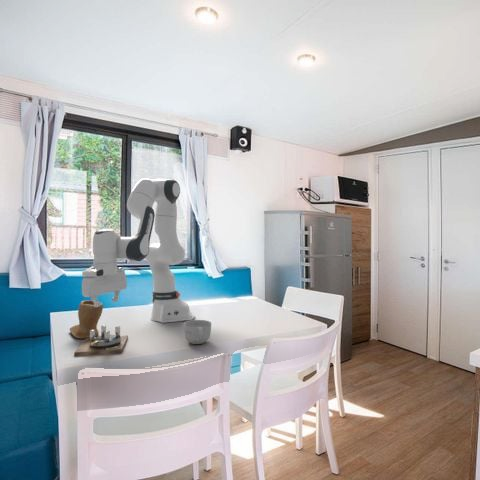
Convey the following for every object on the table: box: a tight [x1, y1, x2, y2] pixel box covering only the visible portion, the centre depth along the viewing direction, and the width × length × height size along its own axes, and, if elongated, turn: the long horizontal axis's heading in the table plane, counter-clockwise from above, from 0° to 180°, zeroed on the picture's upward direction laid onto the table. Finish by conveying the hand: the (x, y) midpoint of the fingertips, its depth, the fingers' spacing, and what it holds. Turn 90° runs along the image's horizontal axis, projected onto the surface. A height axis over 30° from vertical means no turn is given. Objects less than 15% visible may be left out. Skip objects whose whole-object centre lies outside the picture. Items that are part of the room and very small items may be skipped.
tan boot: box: [69, 299, 104, 339], centre depth 142 cm, size 15×12×15 cm
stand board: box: [73, 334, 129, 357], centre depth 126 cm, size 16×17×2 cm
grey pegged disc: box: [90, 324, 121, 348], centre depth 125 cm, size 11×11×6 cm
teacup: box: [183, 319, 212, 345], centre depth 131 cm, size 14×11×8 cm
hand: (106, 304), depth 132 cm, fingers open, 8 cm apart
